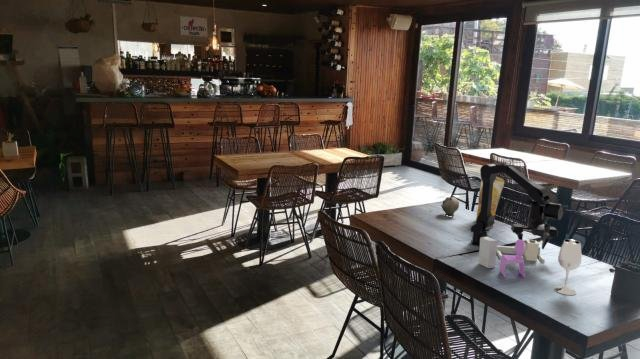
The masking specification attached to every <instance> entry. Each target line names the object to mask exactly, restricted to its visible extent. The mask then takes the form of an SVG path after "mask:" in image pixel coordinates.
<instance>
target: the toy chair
mask: <svg viewBox="0 0 640 359" xmlns="http://www.w3.org/2000/svg"><path fill="white" fill-rule="evenodd" d="M525 243H526V240H523V239H522V240H519V239H518V240H516V241H515V245H514V247H515V251H516V252H517V254H502V257H501V259H500V261H499V262H500V263H499V272H500V273H501V275H503V277H504V278H507V276H506V270H505V269H506V266H507V264H509V263H511V264H512V263H518V266H519V267H518V273H519V274H520V275H521V277H522V278H524V279H526V275H525V263H524V262H525V261H524V259H523V260H522V259H521V258H522V256H523V255H522V254H523V252H524V249H525Z"/></svg>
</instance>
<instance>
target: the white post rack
mask: <svg viewBox="0 0 640 359" xmlns="http://www.w3.org/2000/svg"><path fill="white" fill-rule="evenodd" d="M524 251H525V249H524ZM503 254H506V255H517V252H516V251H515V246H509V245H507V246H506V245H498V244H497V249H496V255H497V256H498V258H499V259H500V260H501V257H502V255H503ZM521 259H522V260H523V261H524V252H523V254H522V258H521ZM537 259H539V261H540V262H541V263H544V264H545V260H546V259H545V258H544V257H543V256H542V254H541V246H539V247H538V254H537Z"/></svg>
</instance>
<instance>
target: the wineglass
mask: <svg viewBox="0 0 640 359" xmlns="http://www.w3.org/2000/svg"><path fill="white" fill-rule="evenodd" d="M557 256H558V257H557V260H558V261H557V262H558V264H559V265H560V266H561V268H563V269H564V270H565V280H564V281H565V282H564V285H563V286H562V285H561V286H560V285H558V286H555V287H554V288H553V289H554V291H555V292H557V293H559V294H562V295H566V296H574V295H576V294H577V291H575V290H574V289H573V288H571V287H569V286H568V279H569V275H570V271H571V272H572V271H575V270H577V269H578V268H579V267H580V266H581V264H582V256H583V255H582V243H581V242H580V241H579V240H576V239H571V238H566V239H564V240H563V242H562V244H561V247H560V249H559V252H558V255H557Z"/></svg>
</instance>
